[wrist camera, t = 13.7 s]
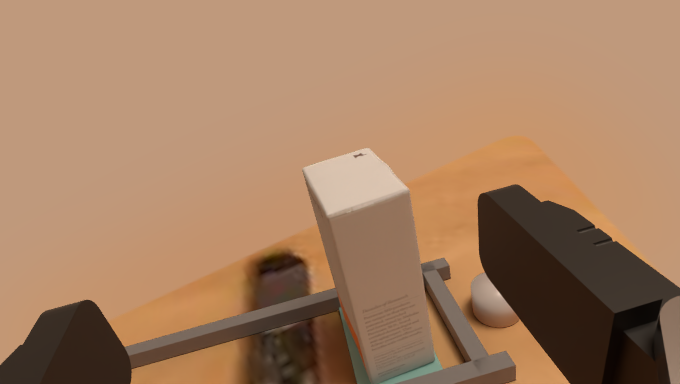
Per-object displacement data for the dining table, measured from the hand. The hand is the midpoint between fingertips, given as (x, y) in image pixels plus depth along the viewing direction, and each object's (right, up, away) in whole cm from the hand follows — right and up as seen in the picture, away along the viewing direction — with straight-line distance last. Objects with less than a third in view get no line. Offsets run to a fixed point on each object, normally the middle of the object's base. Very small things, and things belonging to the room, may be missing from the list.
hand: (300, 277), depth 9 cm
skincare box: (+4, -8, +18) cm, 20 cm away
